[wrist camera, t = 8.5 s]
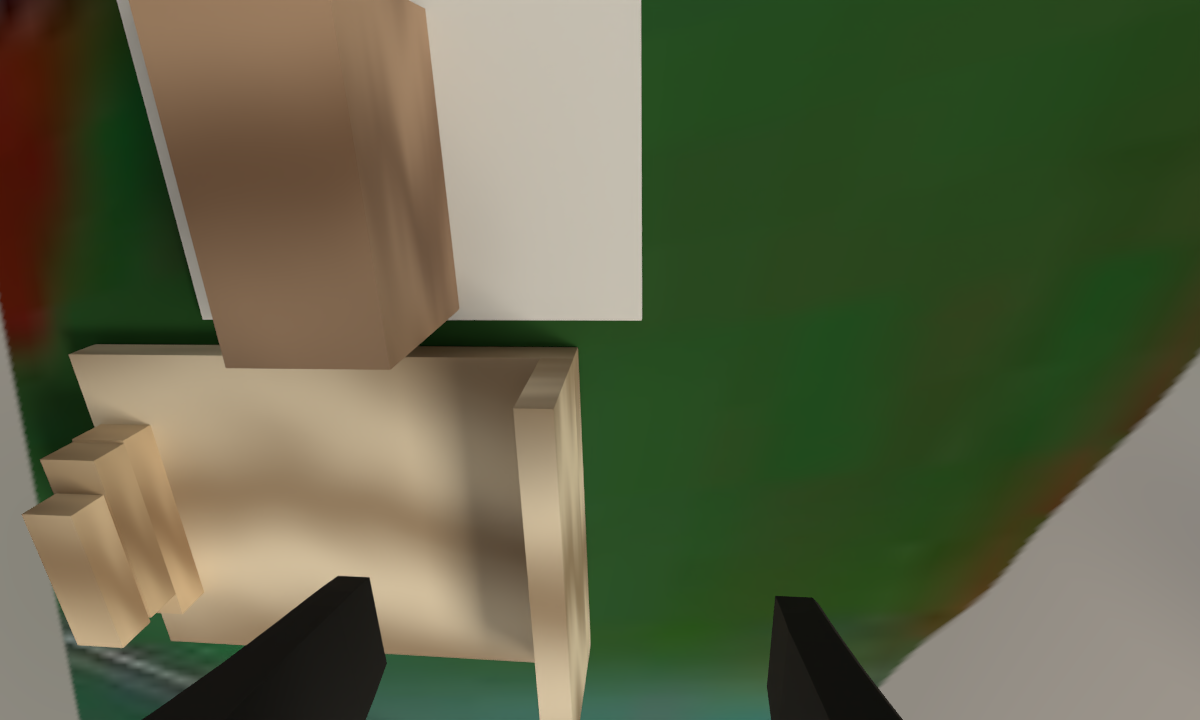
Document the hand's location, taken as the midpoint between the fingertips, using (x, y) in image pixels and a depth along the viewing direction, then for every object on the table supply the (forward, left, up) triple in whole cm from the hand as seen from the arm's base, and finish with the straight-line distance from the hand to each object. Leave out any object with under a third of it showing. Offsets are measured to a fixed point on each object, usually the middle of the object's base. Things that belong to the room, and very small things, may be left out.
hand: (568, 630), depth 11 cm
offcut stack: (-4, +16, -8) cm, 19 cm away
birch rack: (-4, +10, -9) cm, 14 cm away
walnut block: (+7, +6, -9) cm, 13 cm away
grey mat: (+8, +6, -9) cm, 14 cm away
